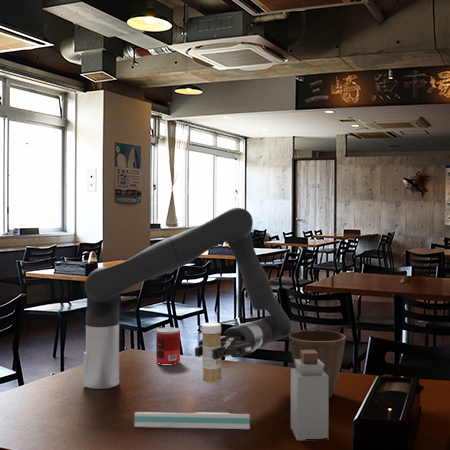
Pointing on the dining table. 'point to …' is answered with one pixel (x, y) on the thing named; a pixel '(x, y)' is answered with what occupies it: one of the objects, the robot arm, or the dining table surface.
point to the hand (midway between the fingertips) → (205, 353)
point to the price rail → (192, 420)
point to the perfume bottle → (309, 397)
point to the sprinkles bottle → (209, 344)
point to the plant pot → (321, 350)
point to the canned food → (168, 345)
